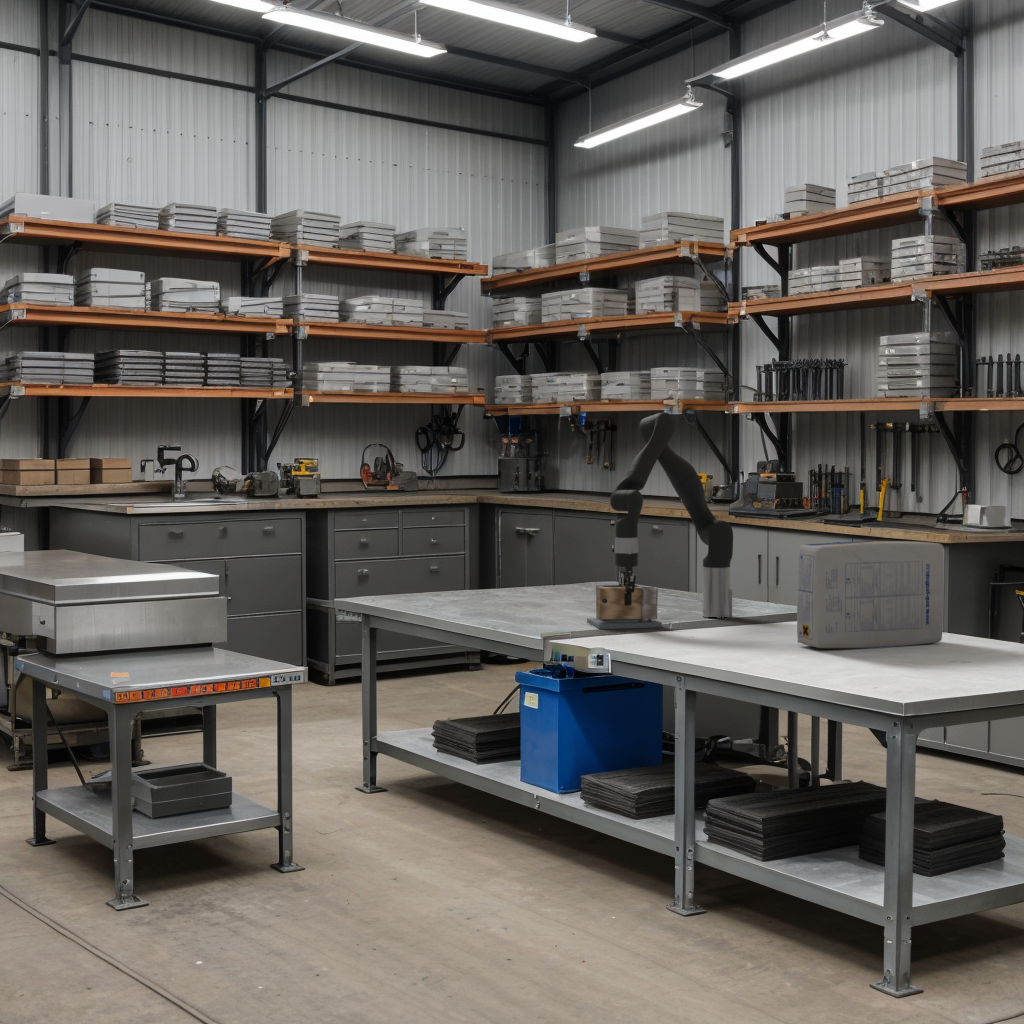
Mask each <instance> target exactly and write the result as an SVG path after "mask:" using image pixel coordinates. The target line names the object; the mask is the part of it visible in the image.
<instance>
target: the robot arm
mask: <svg viewBox="0 0 1024 1024" xmlns="http://www.w3.org/2000/svg"><path fill="white" fill-rule="evenodd" d="M676 428H677V424H676V420H675V418H674V417H673V415H671V414H670V413H669V412H658V413H655V414H653V415H648V416H647V417H644V418H642V419H641V420H640V422H639V427H638V429H639V433H640V435H641V438H642V439H643V441H644V442H645V446H644V447H642V449H641V450H640V451H639V452H638V454H637V455H636V456H635V457H634V459H633V460H632V462H631V464H630V465H629V466H628V467H629V468H628V470H627V472H626V474H625V476H624V478H623V479H621V481H620V482H619V483H618V484H617V486H616V487H615V488H614V489H613V490H612V492H611V494H610V498H609V503H610V507H611V508H612V510H614V511H616V512H627V513H626V516H625V518H620V519H617V520H616V522H615V540H614V541H615V542H614V566H616V567H620V569H619V571H618V572H617V580H618V585H619V587H624V593H625V594H624V604H625V605H626V606H629V605H631V604H632V593H633V592H634V588H635V584H636V580H637V576H636V575H635V572H634V570H633V569H634V568H633V567H638V566H639V541H638V525H639V521H640V517H641V516H640V515H641V512H642V508H643V505H644V499H643V495H642V493H641V492H640V491H641V490H643V489H644V488H645V486H646V483H647V481H648V479H649V477H650V475H651V473H652V470H653V468H654V466H655V464H656V463H657V462H659V464H660V466H661V467H662V470H663V472H664V473H665V474H666V476H667V478H668V480H669V482H670V483H671V486H672V487H673V490H674V491H675V493H676V494H677V496H678V498H679V499H680V501H681V503H682V504H683V506H684V508H685V509H686V511H687V513H688V515H689V516H690V518H691V521H692V523H693V526H694V527H695V531H696V532H697V534H698V537H699V539H700V540H701V542H702V543H703V544H704V545H706V546H707V547H708V548H707V549H708V550H707V554H706V556H705V557H704V558H703V559H702V617H703V616H704V618H708V617H717V618H716V619H725V618H724V617H727V618H733V589H732V588H731V562H732V558H733V551H734V531H733V528H732V526H731V524H730V523H729V522H727V521H726V520H722V519H716V517H715V516H714V515H713V513H712V511H711V510H710V508H709V505H708V504H707V501H706V496H705V490H704V489H705V487H704V485H703V482H702V479H701V478H700V477H699V475H698V472H697V471H696V469H695V467H694V466H693V464H691V463H690V462H689V461H687V460H686V459H685V458H683V457H682V456H681V455H679V454H678V453H676V452H675V451H674V450H673V449H672V448H671V446H670V445H669V442H670V440H672V438H673V436H674V434H675V432H676ZM629 587H630V589H629ZM721 617H722V618H721Z"/></svg>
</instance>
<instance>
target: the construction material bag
mask: <svg viewBox="0 0 1024 1024" xmlns="http://www.w3.org/2000/svg"><path fill="white" fill-rule="evenodd" d="M797 555H798V557H797V559H798V560H797V582H796V584H797V585H796V586H797V587H796V627H797V628H796V632H797V634H796V635H797V643H800V644H802V645H806V646H809V647H814V648H817V649H878V647H882V648H893V647H894V648H895V647H907V646H917V645H925V644H933V643H935V644H936V643H939V642H941V641H942V640H943V639H942V638H943V623H944V621H943V620H944V596H945V595H944V594H945V593H944V591H945V590H944V589H945V588H944V586H945V585H944V583H945V582H944V579H945V577H944V576H945V575H944V571H945V569H944V565H945V563H944V558H945V557H944V546H943V544H941V543H940V542H938V543H937V542H926V541H918V540H912V541H911V540H855V541H854V540H851V541H836V542H823V543H822V542H821V543H810V544H809V543H808V544H802V545H799V546H798V554H797Z"/></svg>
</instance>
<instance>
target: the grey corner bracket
mask: <svg viewBox="0 0 1024 1024" xmlns="http://www.w3.org/2000/svg"><path fill="white" fill-rule="evenodd" d="M598 587H619V584H601V585H600V584H599V585H595V592H596V593H595V599H596V600H595V603H596V611H595V614H596V615H595V617H594V618H593V617H591V618H590V617H589V618H587V619H586V623H587V624H588V623H589V624H588V625H590V624H591V625H590V626H592V625H593V626H592V627H594V626H595V627H596V629H597V628H598V630H612V629H614V630H615V629H616V630H618V629H619V630H620V629H645V628H646V629H647V628H662V627H663V624H662V623H663V622H662V621H660V620H658V619H598V618H597V588H598ZM635 587H644V586H642V585H640V584H637V583H635ZM595 627H594V628H595Z"/></svg>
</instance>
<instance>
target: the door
mask: <svg viewBox="0 0 1024 1024" xmlns="http://www.w3.org/2000/svg"><path fill="white" fill-rule="evenodd" d="M629 589H630V587H629ZM658 591H659V589H658V587H655V586H643V587H635V588H634V592H633V593H632V604H631V605H629V606H626V605H625V604H624V594H625V593H624V587H598V588H597V618H598V619H655V620H658V600H659V599H658Z"/></svg>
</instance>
